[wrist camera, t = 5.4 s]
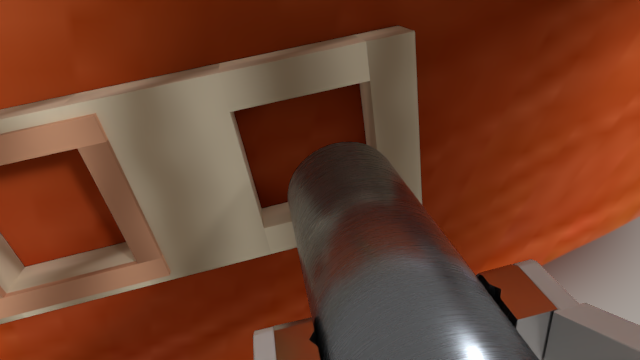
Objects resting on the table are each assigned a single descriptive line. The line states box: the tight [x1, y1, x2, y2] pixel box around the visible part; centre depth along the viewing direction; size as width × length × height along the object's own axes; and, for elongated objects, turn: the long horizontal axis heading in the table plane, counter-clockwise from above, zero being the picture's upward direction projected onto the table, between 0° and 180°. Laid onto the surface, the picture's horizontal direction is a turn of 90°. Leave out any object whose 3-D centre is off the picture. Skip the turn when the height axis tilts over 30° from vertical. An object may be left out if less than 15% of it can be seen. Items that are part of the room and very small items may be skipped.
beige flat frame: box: [0, 26, 422, 324], centre depth 19 cm, size 24×10×2 cm, turn 100°
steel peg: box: [288, 142, 539, 360], centre depth 11 cm, size 4×4×10 cm
